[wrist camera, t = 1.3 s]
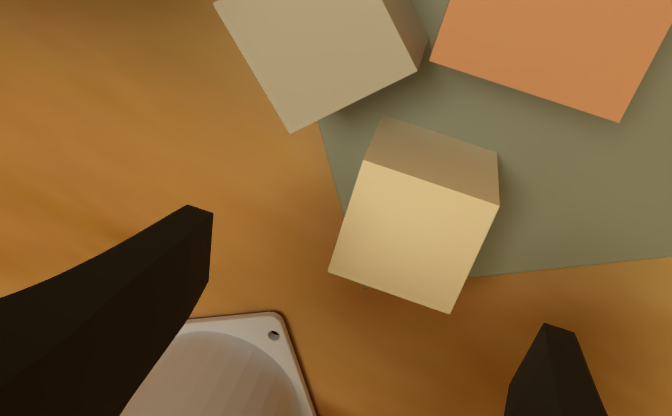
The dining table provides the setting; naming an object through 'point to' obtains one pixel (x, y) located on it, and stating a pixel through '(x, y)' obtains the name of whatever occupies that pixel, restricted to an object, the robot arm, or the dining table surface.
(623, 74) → the terracotta block
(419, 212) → the cream cube
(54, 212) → the dining table surface
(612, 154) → the board
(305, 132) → the dining table surface
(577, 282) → the dining table surface
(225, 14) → the grey cube
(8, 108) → the dining table surface
